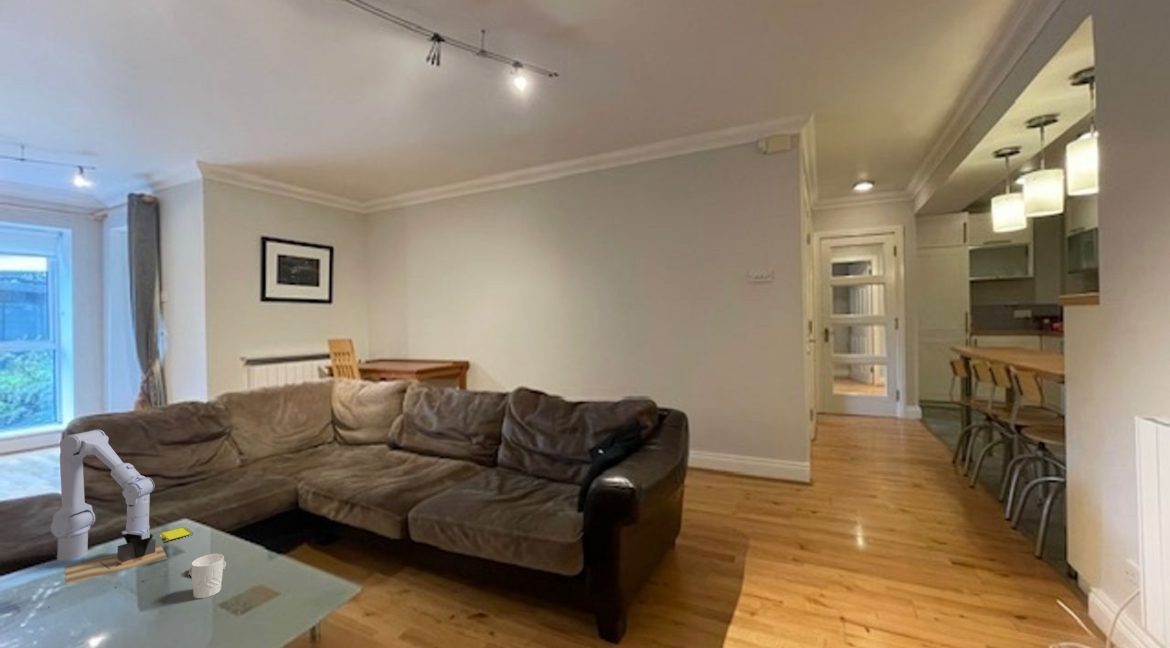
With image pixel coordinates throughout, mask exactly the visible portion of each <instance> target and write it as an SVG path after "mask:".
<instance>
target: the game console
mask: <svg viewBox="0 0 1170 648" xmlns="http://www.w3.org/2000/svg"><path fill="white" fill-rule="evenodd" d="M191 534H193V535H194V533H193V532H192V531H191V530H190V529H188V528H187V527H184V526H183V527H182V526H181V527H178V528H174V529H170V530H166V531H162V532H158V533H153V534H152V535H159V537H160V538H161V540H162V542H163V544H166V543H169V541H170V542H172V541H173V540H174V541H177V540H180V538H181V539H184V538H183V537H185V538H187V537H186V536H188V537H190V536H189V535H191ZM191 536H192V535H191ZM176 539H177V540H176Z"/></svg>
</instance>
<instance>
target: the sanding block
mask: <svg viewBox="0 0 1170 648" xmlns="http://www.w3.org/2000/svg"><path fill="white" fill-rule="evenodd" d="M156 543H157V541H156V539H154V538H153V537H152V538H151V540H150V542H149V544H148V546H147V549H146V552H145V555H144V556H142V557H139V558H136V557H135V552H134V547H133V544H132V542H131V543H127V542H126V543H124V544H120V545H117V554H118V557H117V562H119V563H120V564H121V565H123V564H127V563H130V562H133V561H137V560H140V559H143V558H146V557H150V556H153V555H156V552H155V545H157V544H156Z"/></svg>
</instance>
